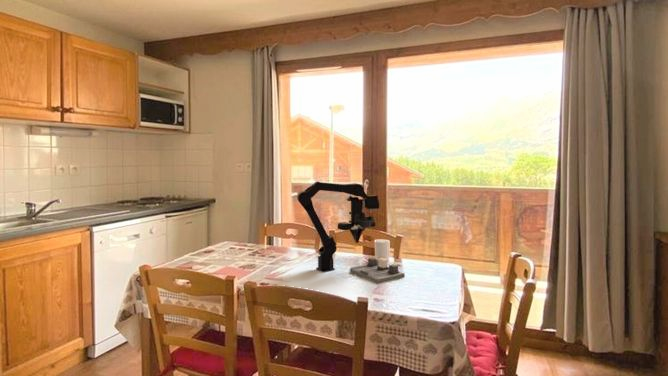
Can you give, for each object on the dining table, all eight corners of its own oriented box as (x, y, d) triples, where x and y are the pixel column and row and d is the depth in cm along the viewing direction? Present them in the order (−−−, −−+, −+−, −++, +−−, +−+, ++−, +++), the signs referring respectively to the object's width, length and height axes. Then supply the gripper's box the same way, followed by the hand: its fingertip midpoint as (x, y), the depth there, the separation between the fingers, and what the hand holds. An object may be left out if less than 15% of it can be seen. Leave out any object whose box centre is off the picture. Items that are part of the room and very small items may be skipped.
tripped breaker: (383, 270, 180) (383, 260, 179) (377, 268, 183) (377, 258, 183) (388, 269, 181) (388, 259, 181) (382, 267, 185) (382, 257, 184)
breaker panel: (378, 283, 168) (378, 271, 167) (349, 271, 185) (349, 260, 184) (404, 277, 176) (404, 265, 176) (375, 266, 193) (375, 256, 193)
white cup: (389, 262, 201) (389, 242, 200) (373, 261, 202) (373, 242, 202) (390, 258, 209) (390, 239, 208) (375, 257, 210) (375, 238, 209)
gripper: (350, 213, 178) (351, 248, 179) (383, 210, 188) (383, 243, 189) (336, 211, 187) (337, 244, 188) (368, 207, 197) (368, 239, 199)
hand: (357, 242), depth 191 cm, fingers closed
